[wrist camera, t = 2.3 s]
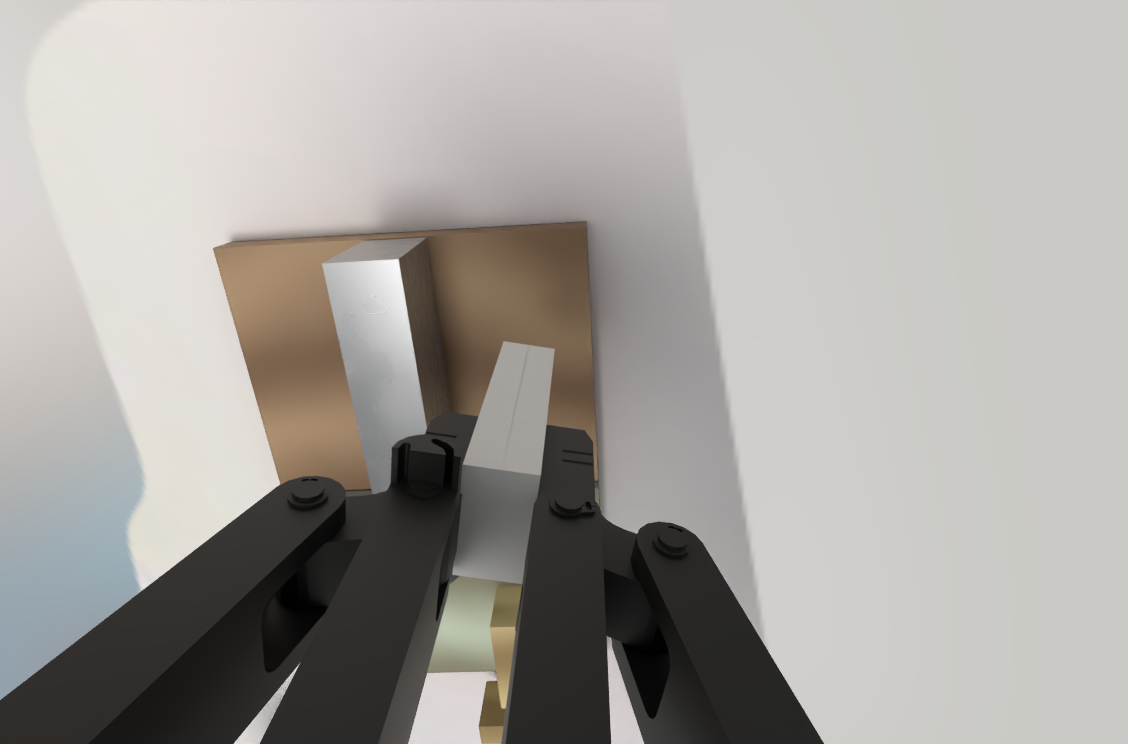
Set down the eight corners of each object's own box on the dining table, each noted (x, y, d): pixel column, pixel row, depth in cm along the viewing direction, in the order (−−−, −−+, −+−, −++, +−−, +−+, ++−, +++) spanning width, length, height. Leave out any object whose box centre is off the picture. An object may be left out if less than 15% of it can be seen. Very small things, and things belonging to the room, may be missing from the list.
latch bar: (488, 528, 27) (474, 589, 23) (400, 531, 27) (373, 592, 24) (449, 235, 22) (424, 257, 18) (341, 241, 22) (296, 264, 19)
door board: (607, 675, 32) (610, 741, 29) (350, 681, 33) (323, 746, 29) (586, 221, 23) (586, 239, 20) (230, 242, 24) (171, 263, 20)
